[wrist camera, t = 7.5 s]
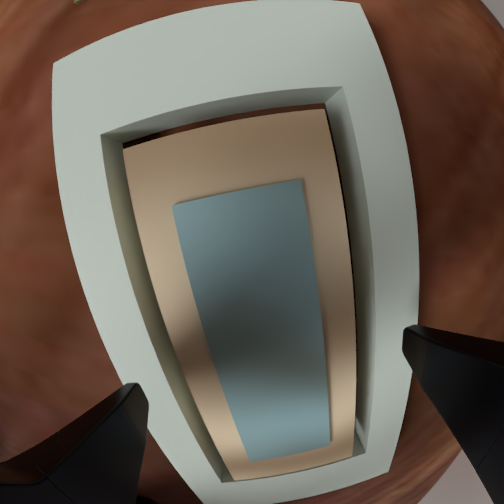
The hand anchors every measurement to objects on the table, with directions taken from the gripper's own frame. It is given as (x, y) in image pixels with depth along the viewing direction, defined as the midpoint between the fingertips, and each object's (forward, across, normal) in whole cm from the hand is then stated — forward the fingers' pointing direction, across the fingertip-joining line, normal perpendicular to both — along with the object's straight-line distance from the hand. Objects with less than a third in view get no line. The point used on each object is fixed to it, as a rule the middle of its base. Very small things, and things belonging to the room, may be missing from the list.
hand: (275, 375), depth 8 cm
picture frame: (+4, 0, 0) cm, 4 cm away
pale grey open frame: (+3, 0, 0) cm, 3 cm away
